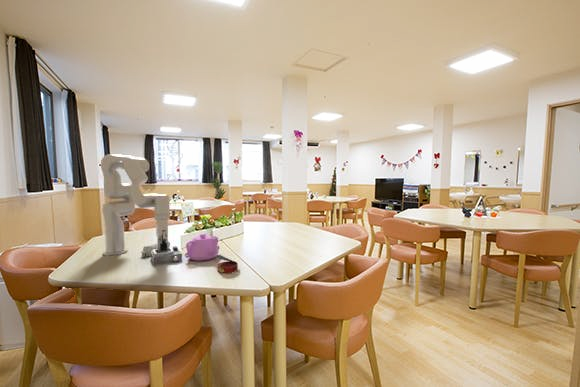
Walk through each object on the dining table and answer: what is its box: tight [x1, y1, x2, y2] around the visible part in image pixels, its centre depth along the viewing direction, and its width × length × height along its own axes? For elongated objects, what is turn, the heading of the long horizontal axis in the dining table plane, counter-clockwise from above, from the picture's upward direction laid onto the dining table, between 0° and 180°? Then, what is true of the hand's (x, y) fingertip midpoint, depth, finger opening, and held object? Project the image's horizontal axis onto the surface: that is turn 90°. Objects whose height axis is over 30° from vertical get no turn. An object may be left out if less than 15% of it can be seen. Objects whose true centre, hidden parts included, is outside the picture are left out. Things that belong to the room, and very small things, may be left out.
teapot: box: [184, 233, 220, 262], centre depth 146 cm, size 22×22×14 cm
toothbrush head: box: [140, 240, 171, 258], centre depth 160 cm, size 5×7×25 cm
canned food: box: [216, 254, 239, 274], centre depth 127 cm, size 11×10×10 cm
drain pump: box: [156, 236, 169, 252], centre depth 142 cm, size 5×5×8 cm
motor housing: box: [150, 245, 183, 266], centre depth 143 cm, size 16×14×6 cm
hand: (162, 248), depth 143 cm, fingers closed on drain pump, 5 cm apart
